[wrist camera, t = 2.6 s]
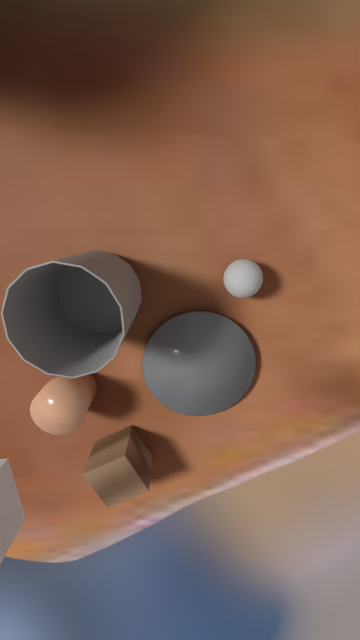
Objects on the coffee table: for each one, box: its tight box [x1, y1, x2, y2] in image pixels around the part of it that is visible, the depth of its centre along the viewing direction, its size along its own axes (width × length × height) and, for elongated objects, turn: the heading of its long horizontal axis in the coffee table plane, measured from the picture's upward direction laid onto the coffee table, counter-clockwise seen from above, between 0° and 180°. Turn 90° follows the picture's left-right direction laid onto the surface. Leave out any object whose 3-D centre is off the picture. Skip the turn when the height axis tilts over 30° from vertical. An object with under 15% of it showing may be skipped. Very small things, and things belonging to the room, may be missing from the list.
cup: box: [1, 250, 142, 378], centre depth 25 cm, size 8×8×10 cm
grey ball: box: [224, 259, 263, 298], centre depth 28 cm, size 4×4×4 cm
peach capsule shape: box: [30, 374, 97, 435], centre depth 31 cm, size 5×5×5 cm
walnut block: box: [83, 425, 153, 508], centre depth 33 cm, size 5×5×5 cm
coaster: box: [143, 310, 256, 416], centre depth 32 cm, size 12×12×1 cm
